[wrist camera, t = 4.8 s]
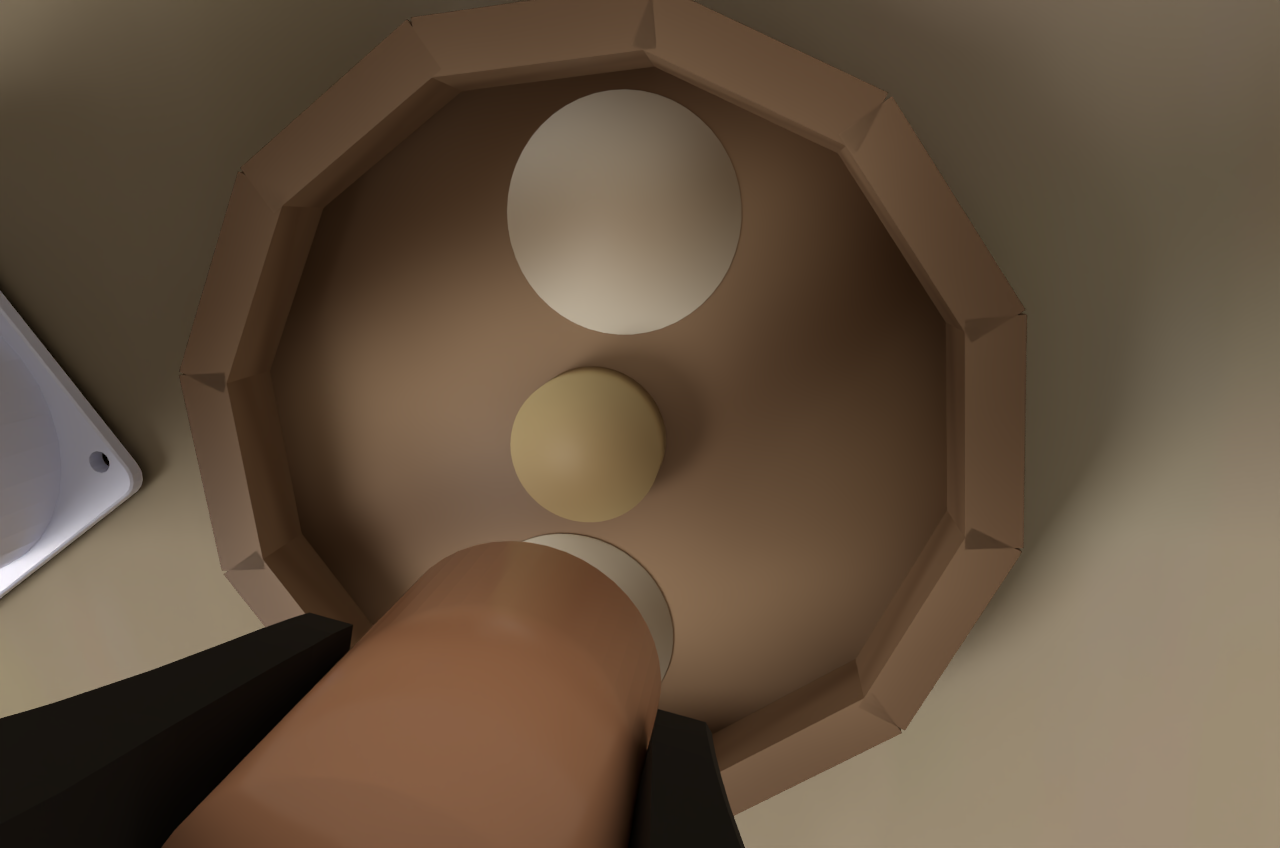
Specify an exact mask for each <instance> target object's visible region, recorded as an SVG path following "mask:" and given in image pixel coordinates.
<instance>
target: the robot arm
mask: <svg viewBox="0 0 1280 848" xmlns="http://www.w3.org/2000/svg"><path fill="white" fill-rule="evenodd" d="M102 453H103V454H105V455H106V456H107V458H108V460H109V466H108V465H107V464H105V462H104V460H103V458H102ZM142 481H143V477H142V471H141V469H140V468H139V466H138V464H137V463H136V461H135V460H134V459H133V458H132V456H131V455H130V454H129V453H128V451H127V450H126V449H125V448H124V446H123V445H122V444H121V443H120V441H119V440H118V439H117V437H116V436H115V435H114V434H113V432H112V431H111V430H110V429H109V427H108V426H107V425H106V424H105V422H104V421H103V420H102V419H101V417H100V416H99V415H98V413H97V412H96V411H95V410H94V408H93V407H92V406H91V405H90V403H89V402H88V401H87V400H86V398H85V397H84V396H83V395H82V393H81V392H80V391H79V389H78V388H77V387H76V386H75V384H74V383H73V382H72V381H71V379H70V378H69V377H68V376H67V374H66V373H65V372H64V371H63V369H62V368H61V367H60V365H59V364H58V363H57V362H56V360H55V359H54V358H53V357H52V355H51V354H50V353H49V352H48V350H47V349H46V348H45V347H44V345H43V344H42V343H41V341H40V340H39V339H38V338H37V336H36V335H35V334H34V333H33V331H32V330H31V329H30V328H29V326H28V325H27V324H26V323H25V321H24V320H23V319H22V317H21V316H20V315H19V314H18V312H17V311H16V310H15V309H14V307H13V306H12V305H11V304H10V302H9V301H8V300H7V299H6V297H5V296H4V295H3V294H2V292H1V291H0V598H2V597H3V596H4V595H6V594H7V593H8V592H9V591H11V590H12V589H13V588H14V587H16V586H17V585H18V584H20V583H21V582H22V581H23V580H25V579H26V578H27V577H29V576H30V575H31V574H32V573H34V572H35V571H36V570H37V569H39V568H40V567H41V566H43V565H44V564H45V563H46V562H48V561H49V560H50V559H52V558H53V557H54V556H55V555H57V554H58V553H59V552H60V551H62V550H63V549H64V548H66V547H67V546H68V545H69V544H71V543H72V542H73V541H74V540H76V539H77V538H78V537H80V536H81V535H82V534H83V533H85V532H86V531H87V530H89V529H90V528H91V527H92V526H94V525H95V524H96V523H97V522H99V521H100V520H101V519H103V518H104V517H105V516H106V515H108V514H109V513H110V512H112V511H113V510H114V509H115V508H117V507H118V506H119V505H120V504H122V503H123V502H124V501H126V500H127V499H128V498H129V497H131V496H132V495H133V494H135V493H136V492H137V491H138V490H139V488H140V487H141V485H142ZM352 630H353V624H349V623H346V622H342V621H339V620H335V619H331V618H328V617H324V616H320V615H317V614H313V613H310V612H309V613H306V614H303V615H299V616H296V617H293V618H290V619H287V620H284V621H281V622H279V623H276V624H273V625H270V626H268V627H265V628H262V629H260V630H257V631H254V632H252V633H249V634H246V635H244V636H241V637H239V638H236V639H233V640H231V641H228V642H226V643H223V644H220V645H218V646H215V647H212V648H210V649H207V650H204V651H202V652H199V653H196V654H194V655H191V656H188V657H186V658H183V659H180V660H178V661H175V662H172V663H170V664H167V665H164V666H162V667H159V668H156V669H154V670H151V671H148V672H145V673H142V674H139V675H136V676H133V677H130V678H127V679H124V680H121V681H118V682H115V683H112V684H109V685H106V686H103V687H100V688H97V689H94V690H91V691H88V692H85V693H82V694H79V695H76V696H73V697H70V698H67V699H64V700H61V701H58V702H55V703H52V704H49V705H45V706H42V707H39V708H35V709H32V710H28V711H25V712H21V713H18V714H14V715H11V716H7V717H4V718H0V848H161V847H162V846H163V845H164V843H165V842H166V841H167V839H168V838H169V837H170V835H171V834H172V833H173V831H174V830H175V829H176V828H177V827H178V826H179V825H180V824H181V823H182V822H183V821H184V820H185V819H186V818H187V817H188V816H189V815H190V814H191V813H192V812H193V811H194V810H195V808H196V807H197V806H198V805H199V804H200V803H201V802H202V801H203V800H204V799H205V798H206V797H207V796H208V795H209V794H210V793H211V792H212V791H213V790H214V789H215V788H216V787H217V786H218V785H219V784H220V783H221V782H222V781H223V780H224V779H225V778H226V777H227V776H228V774H229V773H230V772H231V771H232V770H233V769H234V768H235V767H236V766H237V765H238V764H239V763H240V762H241V761H242V760H243V759H244V758H245V757H246V756H247V755H248V754H249V753H250V752H251V751H252V750H253V749H254V748H255V747H256V746H257V745H258V744H259V743H260V741H261V740H262V739H263V738H264V737H265V736H266V735H267V734H268V733H269V732H270V731H271V730H272V729H273V728H274V727H275V726H276V725H277V724H278V723H279V722H280V721H281V720H282V719H283V718H284V717H285V716H286V715H287V714H288V713H289V712H290V711H291V710H292V709H293V707H294V706H295V705H296V704H297V703H298V702H299V701H300V700H301V699H302V698H303V697H304V696H305V695H306V694H307V693H308V692H309V691H310V690H311V689H312V688H313V687H314V686H315V685H316V684H317V683H318V682H319V681H320V680H321V679H322V678H323V677H324V676H325V674H326V673H327V672H328V671H329V670H330V669H331V668H332V667H333V666H334V665H335V664H336V663H337V662H338V661H339V660H340V659H341V658H342V657H343V656H344V655H345V654H346V653H347V652H348V651H349V650H350V645H351V638H352ZM628 848H745V847H744V844H743V841H742V838H741V836H740V833H739V830H738V827H737V825H736V822H735V819H734V816H733V813H732V810H731V807H730V804H729V801H728V797H727V794H726V791H725V787H724V784H723V780H722V777H721V773H720V769H719V766H718V762H717V757H716V753H715V748H714V743H713V738H712V732H711V731H710V729H709V727H708V725H707V724H706V722H704V721H700V720H696V719H693V718H689V717H685V716H682V715H678V714H675V713H671V712H667V711H664V710H660V709H658V710H657V714H656V718H655V722H654V726H653V730H652V734H651V738H650V741H649V745H648V749H647V754H646V758H645V763H644V768H643V772H642V777H641V782H640V786H639V791H638V795H637V800H636V805H635V810H634V817H633V824H632V830H631V836H630V841H629V847H628Z"/></svg>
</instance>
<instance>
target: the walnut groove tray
mask: <svg viewBox="0 0 1280 848" xmlns="http://www.w3.org/2000/svg"><path fill="white" fill-rule="evenodd" d="M411 21H412V22H410V21H409V20H405V21H404V22H403V23H402V24H401V25H400V26H399V27H398V28H397V29H395V30H394V31H393V32H392V33H391V34H390V35H389V36H388V37H386V38H385V39H384V40H383V41H382V42H381V43H380V44H379V45H377V46H376V47H375V48H374V49H373V50H372V51H371V52H370V53H368V54H367V55H366V56H365V57H364V58H363V59H362V60H361V61H360V62H358V63H357V64H356V65H355V66H354V67H353V68H352V69H351V70H349V71H348V72H347V73H346V74H345V75H344V76H343V77H342V78H340V79H339V80H338V81H337V82H336V83H335V84H334V85H333V86H331V87H330V88H329V89H328V90H327V91H326V92H325V93H324V94H323V95H321V96H320V97H319V98H318V99H317V100H316V101H315V102H314V103H312V104H311V105H310V106H309V107H308V108H307V109H306V110H305V111H303V112H302V113H301V114H300V115H299V116H298V117H297V118H296V119H294V120H293V121H292V122H291V123H290V124H289V125H288V126H287V127H286V128H284V129H283V130H282V131H281V132H280V133H279V134H278V135H277V136H275V137H274V138H273V139H272V140H271V141H270V142H269V143H268V144H266V145H265V146H264V147H263V148H262V149H261V150H260V151H259V152H257V153H256V154H255V155H254V156H253V157H252V158H251V159H250V160H249V161H247V162H246V163H245V164H244V165H243V166H242V167H241V170H242V171H243V172H238V173H237V177H236V180H235V183H234V187H233V190H232V194H231V197H230V200H229V204H228V207H227V211H226V214H225V217H224V221H223V224H222V228H221V231H220V234H219V238H218V241H217V245H216V248H215V251H214V255H213V258H212V262H211V265H210V268H209V272H208V275H207V279H206V282H205V285H204V289H203V292H202V296H201V299H200V302H199V306H198V309H197V313H196V316H195V319H194V323H193V326H192V330H191V333H190V336H189V340H188V343H187V347H186V350H185V353H184V357H183V360H182V364H181V367H180V370H179V372H181V373H183V375H179V377H180V382H181V387H182V391H183V396H184V400H185V405H186V409H187V414H188V419H189V423H190V428H191V432H192V437H193V441H194V446H195V451H196V455H197V460H198V464H199V469H200V473H201V478H202V482H203V487H204V492H205V496H206V501H207V505H208V510H209V514H210V519H211V524H212V528H213V533H214V537H215V542H216V546H217V551H218V555H219V560H220V565H221V569H222V571H227V572H226V573H225V574H224V575H225V577H226V578H227V579H228V580H229V582H230V583H231V584H232V586H233V587H234V588H235V589H236V591H237V592H238V593H239V594H240V596H241V597H242V598H243V599H244V601H245V602H246V603H247V604H248V606H249V607H250V608H251V610H252V611H253V612H254V613H255V615H256V616H257V617H258V618H259V620H260V621H261V622H262V623H263V625H264V626H265V627H268V626H270V625H273V624H276V623H279V622H281V621H284V620H287V619H290V618H293V617H296V616H299V615H303V614H306V613H309V612H310V613H313V614H317V615H320V616H324V617H328V618H331V619H335V620H339V621H342V622H346V623H349V624H353V630H352V638H351V645H350V649H351V648H352V647H353V646H354V645H355V644H356V643H357V642H358V640H359V639H360V638H361V637H362V636H363V635H364V634H365V633H366V632H367V631H368V630H369V629H370V628H371V627H372V626H373V625H374V624H375V623H376V622H377V621H378V620H379V619H380V618H381V617H382V616H383V615H384V614H385V613H386V612H387V611H388V610H389V609H390V607H391V606H392V605H393V604H394V603H395V602H396V601H397V600H398V599H399V598H400V597H401V596H402V595H403V594H404V593H405V592H406V591H407V590H408V589H409V588H410V587H411V586H412V585H413V584H414V583H415V582H416V581H417V580H418V579H419V578H420V577H421V576H422V575H423V574H424V573H425V572H426V571H427V570H428V569H429V568H431V567H432V566H433V565H435V564H436V563H438V562H439V561H441V560H442V559H443V558H445V557H447V556H449V555H451V554H453V553H455V552H457V551H460V550H463V549H466V548H469V547H472V546H475V545H480V544H485V543H490V542H502V541H518V542H530V543H535V544H540V545H546V546H549V547H552V548H555V549H559V550H562V551H565V552H567V553H569V554H571V555H574V556H576V557H578V558H580V559H582V560H584V561H586V562H587V563H589V564H590V565H592V566H594V567H595V568H597V569H598V570H600V571H601V572H602V573H604V574H605V575H606V576H607V577H609V578H610V579H611V580H612V581H614V582H615V583H616V584H617V585H618V586H619V587H620V588H621V589H622V590H623V591H624V593H625V594H626V595H627V596H628V597H629V598H630V600H631V601H632V602H633V604H634V605H635V606H636V607H637V609H638V610H639V612H640V614H641V615H642V617H643V619H644V620H645V622H646V624H647V626H648V628H649V630H650V633H651V635H652V638H653V640H654V642H655V646H656V650H657V653H658V657H659V663H660V671H661V695H660V700H659V706H658V709H660V710H664V711H667V712H671V713H675V714H678V715H682V716H685V717H689V718H693V719H696V720H700V721H704V722H706V724H707V725H708V727H709V729H710V731H711V732H712V738H713V743H714V748H715V753H716V757H717V762H718V766H719V769H720V773H721V777H722V780H723V784H724V787H725V791H726V794H727V797H728V801H729V804H730V807H731V810H732V813H733V816H734V815H736V814H738V813H740V812H742V811H744V810H746V809H748V808H751V807H753V806H755V805H757V804H759V803H761V802H763V801H765V800H767V799H769V798H771V797H773V796H775V795H777V794H779V793H781V792H783V791H785V790H787V789H789V788H791V787H793V786H795V785H797V784H799V783H801V782H803V781H805V780H807V779H809V778H811V777H813V776H815V775H817V774H820V773H822V772H824V771H826V770H828V769H830V768H832V767H834V766H836V765H838V764H840V763H842V762H844V761H846V760H848V759H850V758H852V757H854V756H856V755H858V754H860V753H862V752H864V751H866V750H868V749H870V748H872V747H874V746H876V745H878V744H880V743H882V742H884V741H887V740H889V739H891V738H893V737H895V736H897V735H899V734H901V733H902V732H901V729H903V730H905V729H906V728H907V726H908V725H909V723H910V722H911V720H912V719H913V717H914V716H915V714H916V713H917V711H918V710H919V708H920V707H921V705H922V703H923V702H924V700H925V699H926V697H927V696H928V694H929V693H930V691H931V690H932V688H933V687H934V685H935V684H936V682H937V681H938V679H939V678H940V676H941V675H942V673H943V672H944V670H945V668H946V667H947V665H948V664H949V662H950V661H951V659H952V658H953V656H954V655H955V653H956V652H957V650H958V649H959V647H960V646H961V644H962V643H963V641H964V640H965V638H966V637H967V635H968V634H969V632H970V630H971V629H972V627H973V626H974V624H975V623H976V621H977V620H978V618H979V617H980V615H981V614H982V612H983V611H984V609H985V608H986V606H987V605H988V603H989V602H990V600H991V599H992V597H993V595H994V594H995V592H996V591H997V589H998V588H999V586H1000V585H1001V583H1002V582H1003V580H1004V579H1005V577H1006V576H1007V574H1008V573H1009V571H1010V570H1011V568H1012V567H1013V565H1014V564H1015V562H1016V560H1017V559H1018V557H1019V556H1020V554H1021V553H1022V551H1021V550H1020V549H1019V548H1023V538H1024V472H1025V406H1026V341H1027V315H1026V314H1023V313H1021V312H1023V311H1025V308H1024V307H1023V305H1022V303H1021V302H1020V300H1019V299H1018V297H1017V295H1016V294H1015V292H1014V291H1013V289H1012V287H1011V286H1010V284H1009V283H1008V281H1007V279H1006V278H1005V276H1004V275H1003V273H1002V271H1001V270H1000V268H999V267H998V265H997V263H996V262H995V260H994V259H993V257H992V255H991V254H990V252H989V251H988V249H987V247H986V246H985V244H984V243H983V241H982V239H981V238H980V236H979V235H978V233H977V231H976V230H975V228H974V227H973V225H972V223H971V222H970V220H969V219H968V217H967V215H966V214H965V212H964V211H963V209H962V207H961V206H960V204H959V203H958V201H957V199H956V198H955V196H954V195H953V193H952V191H951V190H950V188H949V187H948V185H947V183H946V182H945V180H944V178H943V177H942V175H941V174H940V172H939V170H938V169H937V167H936V166H935V164H934V162H933V161H932V159H931V158H930V156H929V154H928V153H927V151H926V150H925V148H924V146H923V145H922V143H921V142H920V140H919V138H918V137H917V135H916V134H915V132H914V130H913V129H912V127H911V126H910V124H909V122H908V121H907V119H906V118H905V116H904V114H903V113H902V111H901V110H900V108H899V106H898V105H897V103H896V102H895V100H894V98H893V97H890V98H889V99H887V100H886V101H885V102H884V100H885V98H886V96H887V94H888V92H886V91H884V90H881V89H879V88H877V87H875V86H873V85H871V84H869V83H867V82H864V81H862V80H860V79H858V78H856V77H854V76H852V75H849V74H847V73H845V72H843V71H841V70H839V69H837V68H835V67H832V66H830V65H828V64H826V63H824V62H822V61H820V60H818V59H815V58H813V57H811V56H809V55H807V54H805V53H803V52H801V51H798V50H796V49H794V48H792V47H790V46H788V45H786V44H784V43H781V42H779V41H777V40H775V39H773V38H771V37H769V36H767V35H764V34H762V33H760V32H758V31H756V30H754V29H752V28H750V27H747V26H745V25H743V24H741V23H739V22H737V21H735V20H733V19H730V18H728V17H726V16H724V15H722V14H720V13H718V12H716V11H713V10H711V9H709V8H707V7H705V6H703V5H701V4H698V3H696V2H694V1H692V0H529V1H522V2H515V3H508V4H501V5H494V6H487V7H480V8H473V9H466V10H459V11H452V12H445V13H438V14H431V15H424V16H417V17H411ZM228 570H229V571H228Z"/></svg>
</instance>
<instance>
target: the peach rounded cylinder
mask: <svg viewBox="0 0 1280 848" xmlns="http://www.w3.org/2000/svg"><path fill="white" fill-rule="evenodd" d="M660 695H661V671H660V663H659V657H658V653H657V650H656V646H655V642H654V640H653V638H652V635H651V633H650V630H649V628H648V626H647V624H646V622H645V620H644V619H643V617H642V615H641V614H640V612H639V610H638V609H637V607H636V606H635V605H634V604H633V602H632V601H631V600H630V598H629V597H628V596H627V595H626V594H625V593H624V591H623V590H622V589H621V588H620V587H619V586H618V585H617V584H616V583H615V582H614V581H612V580H611V579H610V578H609V577H607V576H606V575H605V574H604V573H602V572H601V571H600V570H598V569H597V568H595V567H594V566H592V565H590V564H589V563H587V562H586V561H584V560H582V559H580V558H578V557H576V556H574V555H571V554H569V553H567V552H565V551H562V550H559V549H555V548H552V547H549V546H546V545H540V544H535V543H530V542H518V541H502V542H490V543H485V544H480V545H475V546H472V547H469V548H466V549H463V550H460V551H457V552H455V553H453V554H451V555H449V556H447V557H445V558H443V559H442V560H441V561H439V562H438V563H436V564H435V565H433V566H432V567H431V568H429V569H428V570H427V571H426V572H425V573H424V574H423V575H422V576H421V577H420V578H419V579H418V580H417V581H416V582H415V583H414V584H413V585H412V586H411V587H410V588H409V589H408V590H407V591H406V592H405V593H404V594H403V595H402V596H401V597H400V598H399V599H398V600H397V601H396V602H395V603H394V604H393V605H392V606H391V607H390V609H389V610H388V611H387V612H386V613H385V614H384V615H383V616H382V617H381V618H380V619H379V620H378V621H377V622H376V623H375V624H374V625H373V626H372V627H371V628H370V629H369V630H368V631H367V632H366V633H365V634H364V635H363V636H362V637H361V638H360V639H359V640H358V642H357V643H356V644H355V645H354V646H353V647H352V648H351V649H350V650H349V651H348V652H347V653H346V654H345V655H344V656H343V657H342V658H341V659H340V660H339V661H338V662H337V663H336V664H335V665H334V666H333V667H332V668H331V669H330V670H329V671H328V672H327V673H326V674H325V676H324V677H323V678H322V679H321V680H320V681H319V682H318V683H317V684H316V685H315V686H314V687H313V688H312V689H311V690H310V691H309V692H308V693H307V694H306V695H305V696H304V697H303V698H302V699H301V700H300V701H299V702H298V703H297V704H296V705H295V706H294V707H293V709H292V710H291V711H290V712H289V713H288V714H287V715H286V716H285V717H284V718H283V719H282V720H281V721H280V722H279V723H278V724H277V725H276V726H275V727H274V728H273V729H272V730H271V731H270V732H269V733H268V734H267V735H266V736H265V737H264V738H263V739H262V740H261V741H260V743H259V744H258V745H257V746H256V747H255V748H254V749H253V750H252V751H251V752H250V753H249V754H248V755H247V756H246V757H245V758H244V759H243V760H242V761H241V762H240V763H239V764H238V765H237V766H236V767H235V768H234V769H233V770H232V771H231V772H230V773H229V774H228V776H227V777H226V778H225V779H224V780H223V781H222V782H221V783H220V784H219V785H218V786H217V787H216V788H215V789H214V790H213V791H212V792H211V793H210V794H209V795H208V796H207V797H206V798H205V799H204V800H203V801H202V802H201V803H200V804H199V805H198V806H197V807H196V808H195V810H194V811H193V812H192V813H191V814H190V815H189V816H188V817H187V818H186V819H185V820H184V821H183V822H182V823H181V824H180V825H179V826H178V827H177V828H176V829H175V830H174V831H173V833H172V834H171V835H170V837H169V838H168V839H167V841H166V842H165V843H164V845H163V846H162V847H161V848H628V847H629V841H630V836H631V830H632V824H633V817H634V810H635V805H636V800H637V795H638V791H639V786H640V782H641V777H642V772H643V768H644V763H645V758H646V754H647V749H648V745H649V741H650V738H651V734H652V730H653V726H654V722H655V718H656V714H657V710H658V706H659V700H660Z"/></svg>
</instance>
